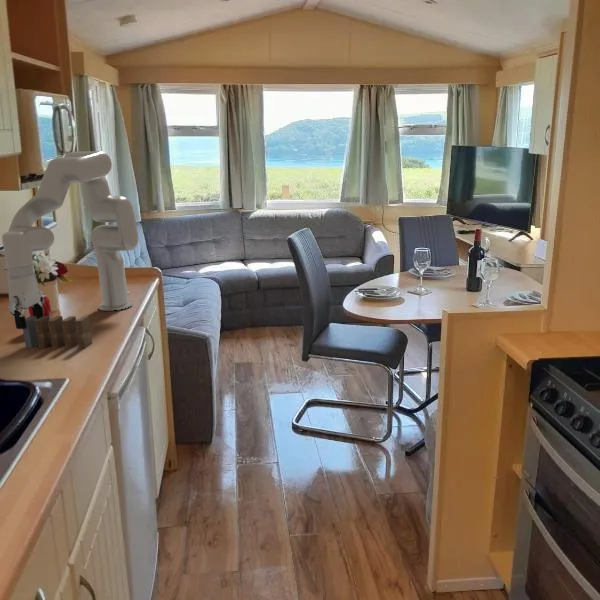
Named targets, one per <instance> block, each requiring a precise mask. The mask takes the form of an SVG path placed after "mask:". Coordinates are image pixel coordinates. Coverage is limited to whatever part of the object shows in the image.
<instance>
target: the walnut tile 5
mask: <svg viewBox="0 0 600 600" xmlns="http://www.w3.org/2000/svg"><path fill="white" fill-rule="evenodd" d="M75 324H76V331H77V338H78V344H77V346H78V349H79V350H80V349H82V350H85V349H87V348H88V347H89V346H91V345H92V344H93V336H92V330H91V322H90V316H86V315H85V316H84V315H83V316H81V317H79V318H78V319H76V321H75Z"/></svg>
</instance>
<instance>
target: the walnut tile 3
mask: <svg viewBox="0 0 600 600" xmlns="http://www.w3.org/2000/svg"><path fill="white" fill-rule="evenodd" d="M62 320H64V318H63V316H61V315H57V316H54V317H52V319H51V320H49V321H48V324H49V330H50V337H51V343H52V344H51V348H52V349H59V348H61V347H63V346H65V341H64V334H63V327H62Z"/></svg>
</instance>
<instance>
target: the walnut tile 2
mask: <svg viewBox="0 0 600 600" xmlns="http://www.w3.org/2000/svg"><path fill="white" fill-rule="evenodd" d="M49 320H50V318H49V316H43V317H41V318H39V319H37V320H35V326H36V332H37V338H38V345H37V346H38V349H46V348H48V347H49V346H52V343H51V337H50V330H49V324H48V321H49Z"/></svg>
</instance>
